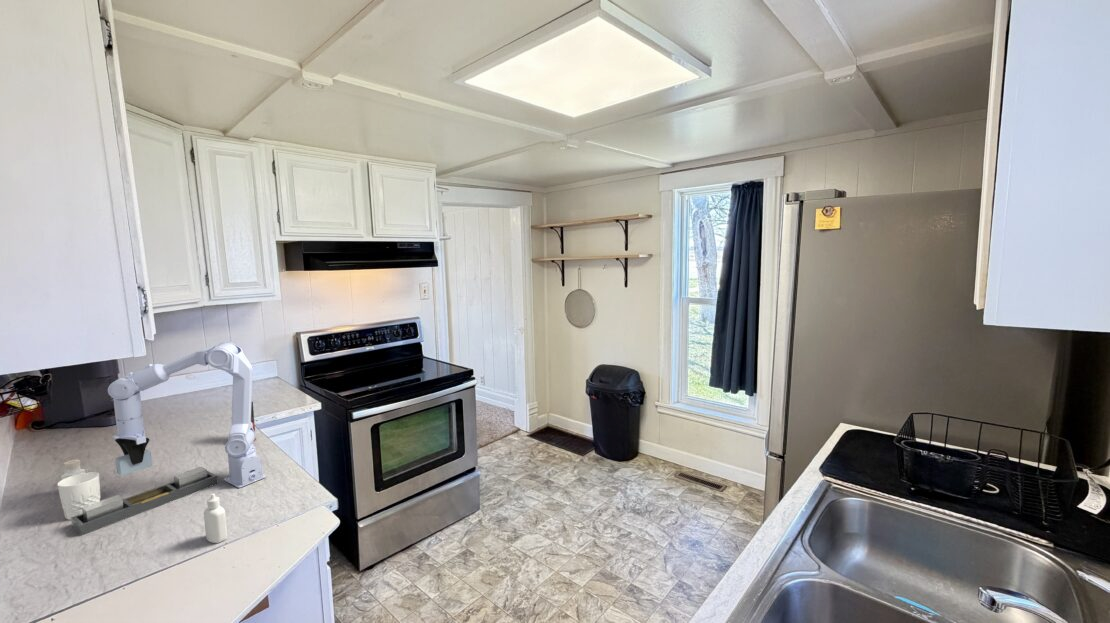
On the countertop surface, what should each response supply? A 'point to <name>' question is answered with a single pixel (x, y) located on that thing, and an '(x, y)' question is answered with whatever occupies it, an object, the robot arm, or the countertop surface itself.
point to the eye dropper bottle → (215, 521)
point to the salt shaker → (72, 468)
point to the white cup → (79, 492)
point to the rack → (141, 501)
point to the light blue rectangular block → (127, 467)
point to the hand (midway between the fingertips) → (134, 461)
